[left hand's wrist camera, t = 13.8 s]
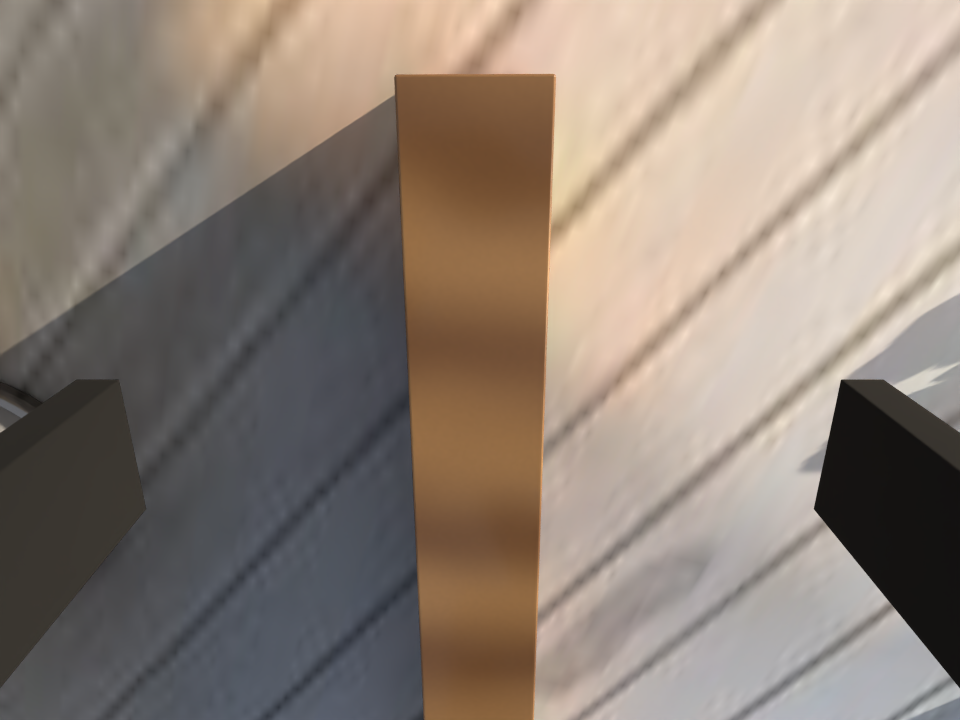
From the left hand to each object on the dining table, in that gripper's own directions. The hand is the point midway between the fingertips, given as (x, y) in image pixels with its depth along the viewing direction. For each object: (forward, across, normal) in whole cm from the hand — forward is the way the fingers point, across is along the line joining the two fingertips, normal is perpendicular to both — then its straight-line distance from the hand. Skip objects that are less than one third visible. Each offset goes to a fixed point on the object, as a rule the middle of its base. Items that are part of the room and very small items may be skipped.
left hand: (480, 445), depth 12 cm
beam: (+22, 0, -30) cm, 37 cm away
